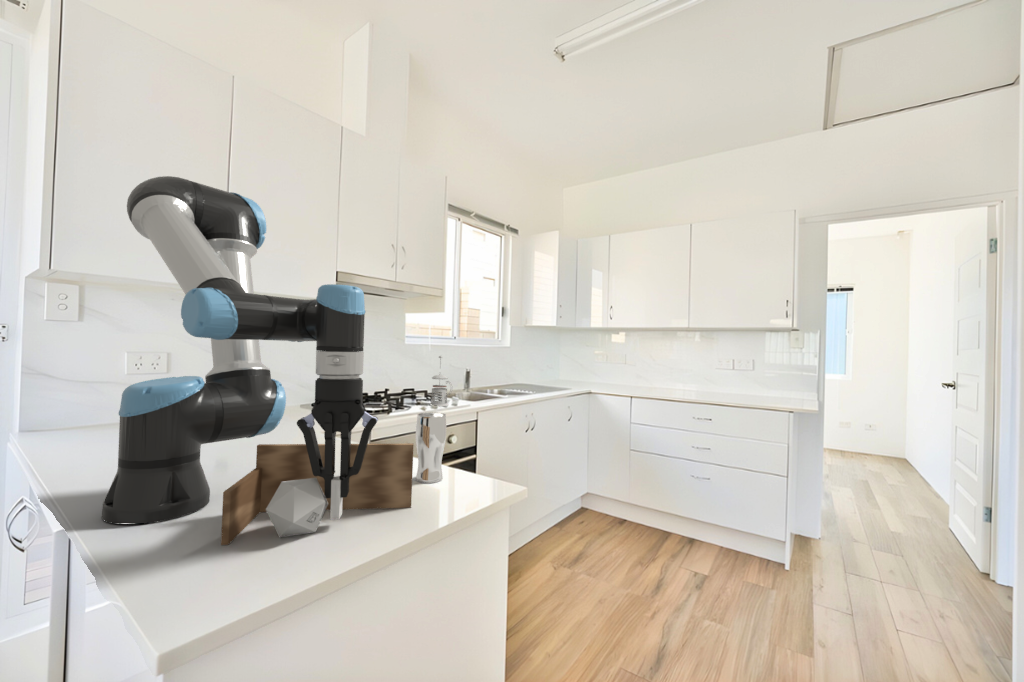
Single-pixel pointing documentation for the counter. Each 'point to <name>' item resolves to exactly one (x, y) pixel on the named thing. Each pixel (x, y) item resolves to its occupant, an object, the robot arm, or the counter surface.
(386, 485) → the panel
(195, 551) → the counter surface
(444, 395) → the french press
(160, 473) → the robot arm
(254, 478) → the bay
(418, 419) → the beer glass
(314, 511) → the die
